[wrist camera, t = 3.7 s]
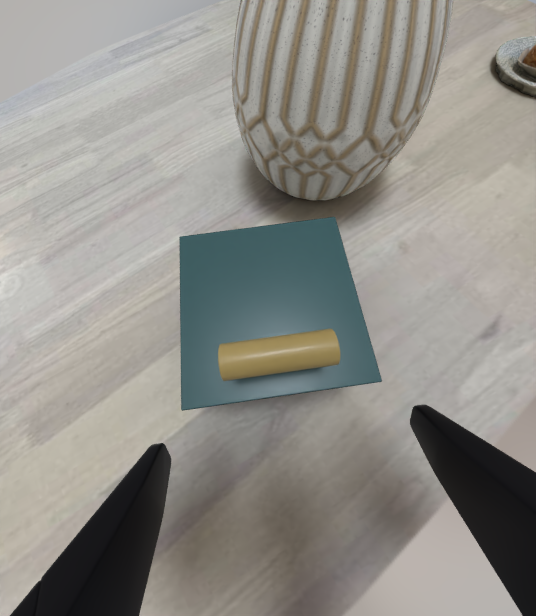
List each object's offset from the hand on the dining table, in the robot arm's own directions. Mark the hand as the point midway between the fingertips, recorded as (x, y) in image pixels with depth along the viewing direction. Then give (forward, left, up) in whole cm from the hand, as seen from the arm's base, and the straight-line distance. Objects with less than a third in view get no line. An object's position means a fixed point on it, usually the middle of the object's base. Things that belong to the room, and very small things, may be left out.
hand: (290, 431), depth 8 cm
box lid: (+2, -6, -4) cm, 8 cm away
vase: (+1, -25, -11) cm, 28 cm away
